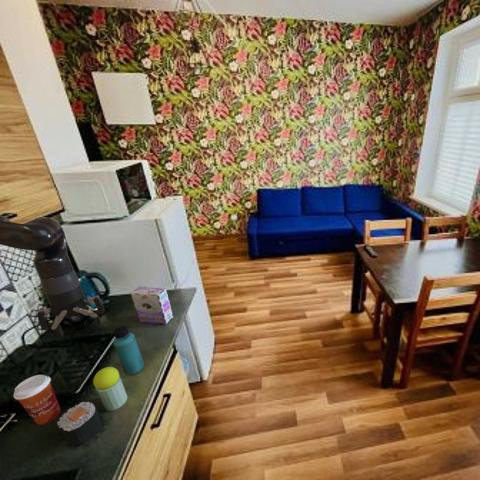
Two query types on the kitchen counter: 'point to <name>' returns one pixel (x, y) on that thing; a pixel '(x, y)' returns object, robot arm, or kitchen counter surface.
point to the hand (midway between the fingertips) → (80, 330)
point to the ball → (106, 378)
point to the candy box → (152, 305)
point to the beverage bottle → (127, 350)
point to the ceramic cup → (113, 396)
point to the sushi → (80, 423)
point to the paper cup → (38, 398)
